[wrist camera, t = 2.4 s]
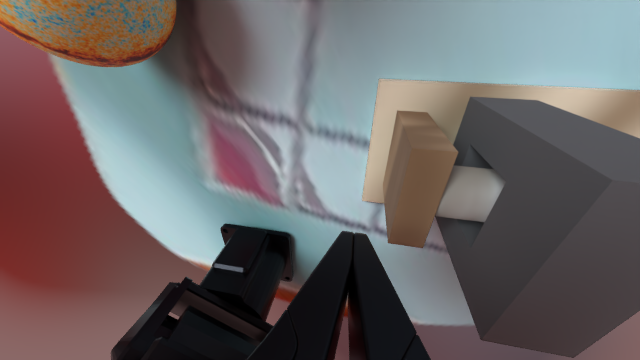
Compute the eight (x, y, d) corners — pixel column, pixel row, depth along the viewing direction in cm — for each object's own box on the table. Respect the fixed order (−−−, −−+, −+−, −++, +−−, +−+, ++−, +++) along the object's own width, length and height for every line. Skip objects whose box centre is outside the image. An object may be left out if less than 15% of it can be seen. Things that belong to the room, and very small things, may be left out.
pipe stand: (919, 102, 9) (1504, 171, 5) (731, 238, 14) (931, 350, 9) (378, 78, 13) (385, 105, 8) (362, 195, 17) (359, 260, 12)
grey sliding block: (537, 100, 11) (797, 197, 4) (480, 212, 15) (573, 357, 8) (470, 96, 11) (612, 180, 5) (431, 206, 15) (481, 340, 8)
